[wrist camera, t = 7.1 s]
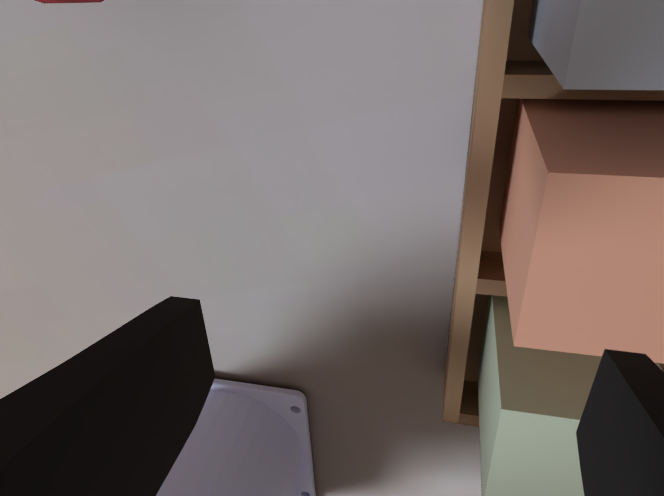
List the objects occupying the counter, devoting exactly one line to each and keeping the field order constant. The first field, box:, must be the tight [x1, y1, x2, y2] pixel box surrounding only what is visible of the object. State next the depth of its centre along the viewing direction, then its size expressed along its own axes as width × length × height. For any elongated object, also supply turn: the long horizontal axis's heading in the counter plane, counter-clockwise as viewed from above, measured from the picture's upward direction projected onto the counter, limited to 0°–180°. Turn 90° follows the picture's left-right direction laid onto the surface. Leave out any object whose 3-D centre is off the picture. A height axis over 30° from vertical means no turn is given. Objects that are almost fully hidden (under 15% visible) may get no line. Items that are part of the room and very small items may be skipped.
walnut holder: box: [443, 0, 664, 427], centre depth 15 cm, size 20×7×3 cm, turn 3°
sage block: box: [477, 295, 662, 496], centre depth 16 cm, size 4×4×6 cm
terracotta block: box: [499, 99, 664, 364], centre depth 13 cm, size 4×4×6 cm
